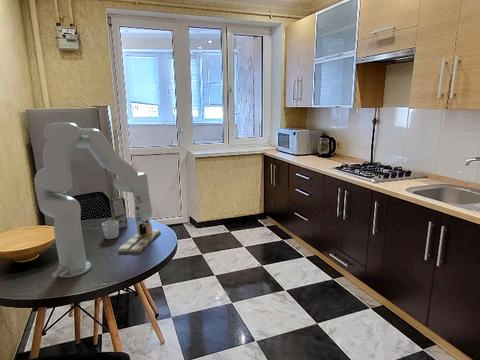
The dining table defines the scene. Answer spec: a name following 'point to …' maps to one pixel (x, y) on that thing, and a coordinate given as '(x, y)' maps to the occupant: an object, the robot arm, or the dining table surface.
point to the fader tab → (148, 229)
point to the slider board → (138, 242)
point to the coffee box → (118, 210)
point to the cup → (110, 229)
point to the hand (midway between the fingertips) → (144, 232)
